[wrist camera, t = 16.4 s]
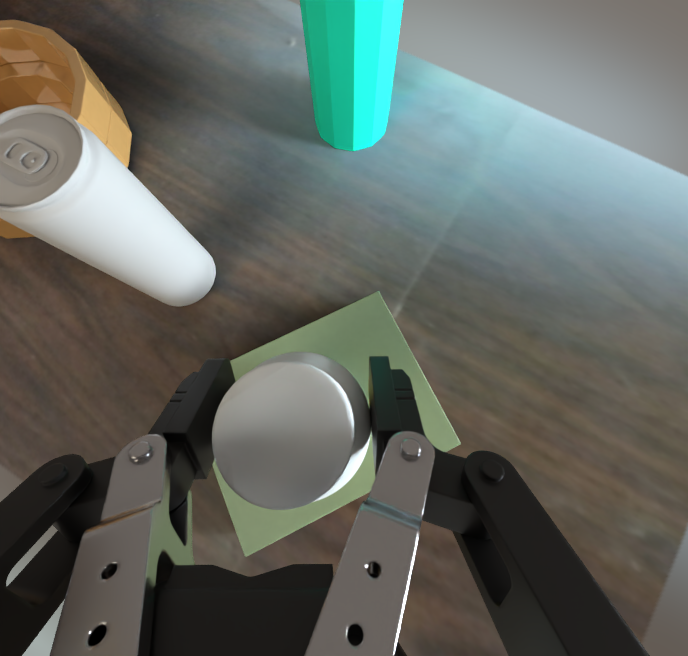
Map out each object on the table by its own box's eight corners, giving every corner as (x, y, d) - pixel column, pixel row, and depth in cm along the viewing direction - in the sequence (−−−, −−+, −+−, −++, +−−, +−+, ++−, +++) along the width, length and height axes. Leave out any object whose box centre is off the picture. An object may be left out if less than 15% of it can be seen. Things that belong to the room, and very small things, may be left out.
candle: (340, 163, 25) (331, -41, 14) (302, 112, 26) (263, -117, 15) (402, 128, 26) (445, -95, 14) (362, 80, 27) (371, -164, 15)
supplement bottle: (250, 423, 18) (142, 448, 9) (309, 349, 19) (270, 300, 10) (324, 487, 17) (292, 589, 8) (382, 407, 18) (417, 413, 9)
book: (260, 533, 19) (245, 557, 17) (204, 385, 22) (182, 383, 19) (445, 437, 20) (461, 443, 18) (375, 304, 23) (378, 290, 20)
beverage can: (194, 320, 23) (27, 235, 11) (140, 289, 23) (-73, 177, 12) (231, 265, 23) (113, 131, 12) (179, 237, 24) (17, 83, 12)
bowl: (-26, 270, 24) (-122, 237, 19) (-59, 126, 27) (-150, 66, 22) (157, 193, 25) (111, 143, 20) (106, 64, 28) (54, -7, 23)
